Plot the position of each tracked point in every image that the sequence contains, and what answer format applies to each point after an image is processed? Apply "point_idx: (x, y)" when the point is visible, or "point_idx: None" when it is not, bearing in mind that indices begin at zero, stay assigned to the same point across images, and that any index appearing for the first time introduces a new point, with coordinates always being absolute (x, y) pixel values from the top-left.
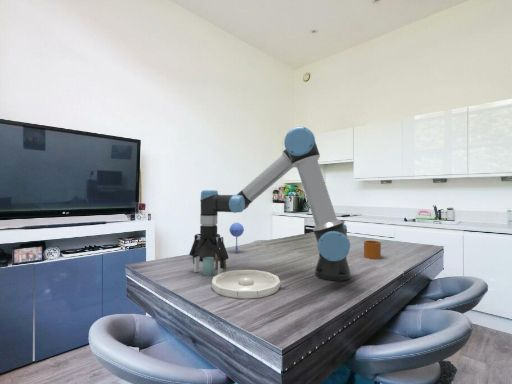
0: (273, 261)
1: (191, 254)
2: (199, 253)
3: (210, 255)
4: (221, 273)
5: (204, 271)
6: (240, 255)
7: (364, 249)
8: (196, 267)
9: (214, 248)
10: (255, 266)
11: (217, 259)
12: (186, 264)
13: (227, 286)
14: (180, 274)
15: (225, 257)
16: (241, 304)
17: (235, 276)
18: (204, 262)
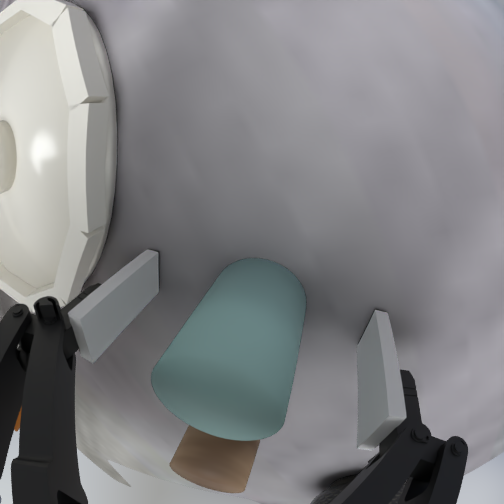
0: (111, 436)
1: (446, 448)
2: (395, 496)
3: (338, 493)
4: (82, 209)
5: (267, 279)
6: (244, 495)
7: (18, 417)
8: (374, 345)
9: (34, 444)
10: (116, 406)
11: (223, 440)
12: (456, 422)
13: (31, 67)
14: (479, 244)
15: (6, 318)
16: (6, 2)
17: (56, 238)
18: (243, 337)
